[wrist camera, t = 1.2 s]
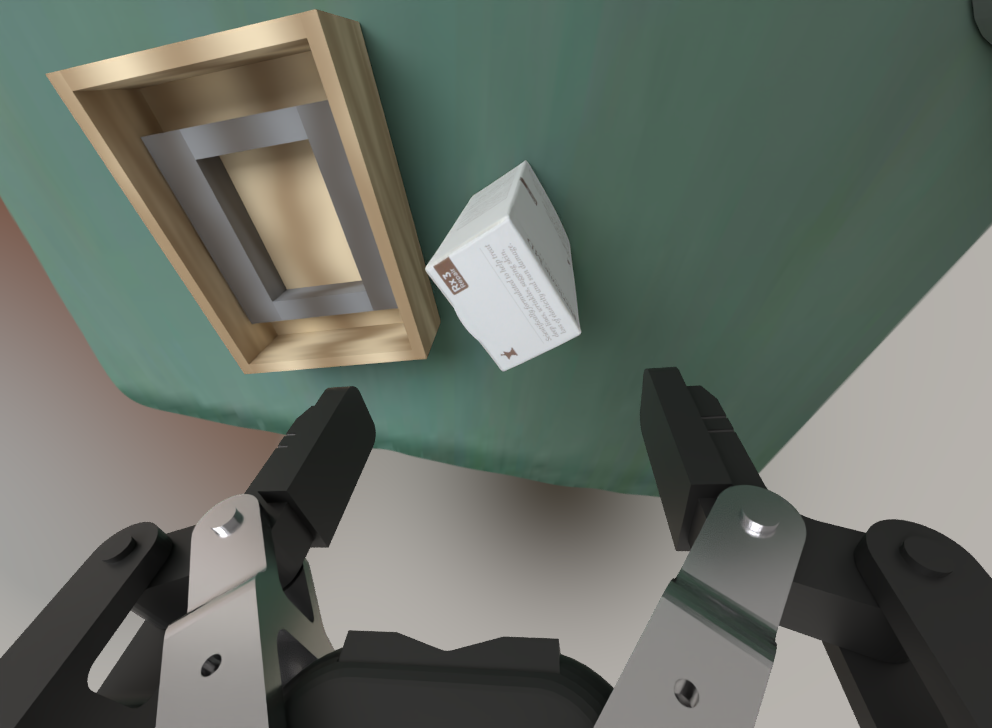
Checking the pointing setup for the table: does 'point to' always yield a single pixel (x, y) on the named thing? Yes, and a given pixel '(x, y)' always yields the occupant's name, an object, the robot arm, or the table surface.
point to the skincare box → (510, 270)
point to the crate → (268, 188)
